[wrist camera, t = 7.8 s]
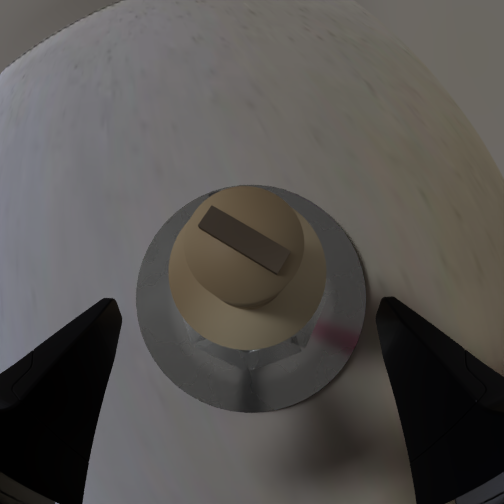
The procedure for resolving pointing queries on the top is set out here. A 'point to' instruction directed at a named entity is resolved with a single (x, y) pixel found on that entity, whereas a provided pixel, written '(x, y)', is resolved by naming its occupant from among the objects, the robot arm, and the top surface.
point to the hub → (260, 360)
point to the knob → (247, 269)
